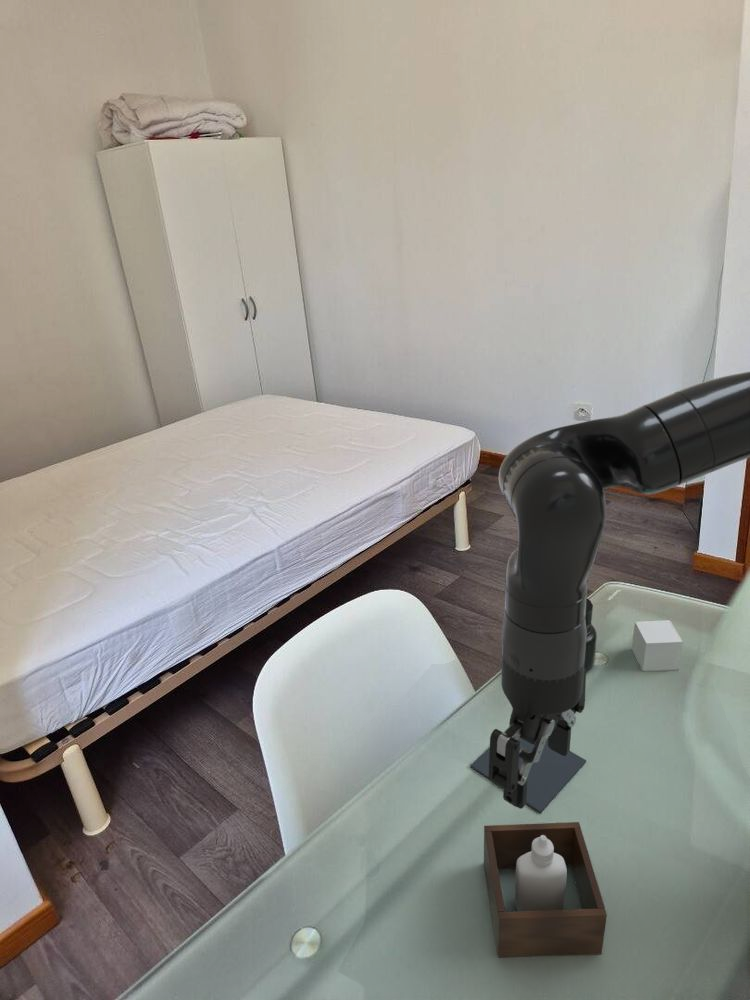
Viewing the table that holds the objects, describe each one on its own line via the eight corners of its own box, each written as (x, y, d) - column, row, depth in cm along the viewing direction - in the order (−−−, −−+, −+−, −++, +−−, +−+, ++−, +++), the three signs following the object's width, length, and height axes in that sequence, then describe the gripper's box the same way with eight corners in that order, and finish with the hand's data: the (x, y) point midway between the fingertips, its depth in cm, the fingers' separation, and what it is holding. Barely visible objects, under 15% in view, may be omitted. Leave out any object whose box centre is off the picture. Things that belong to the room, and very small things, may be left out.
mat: (586, 762, 101) (586, 760, 101) (540, 813, 93) (540, 811, 93) (517, 722, 109) (517, 720, 108) (470, 767, 101) (470, 765, 101)
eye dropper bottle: (521, 880, 85) (524, 813, 80) (567, 899, 82) (573, 831, 77) (510, 911, 82) (512, 843, 76) (557, 932, 79) (563, 863, 74)
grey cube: (642, 671, 117) (646, 643, 115) (631, 649, 123) (634, 621, 120) (678, 669, 117) (682, 641, 114) (665, 647, 122) (669, 620, 120)
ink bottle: (531, 650, 124) (533, 595, 119) (574, 638, 126) (578, 583, 121) (560, 684, 116) (564, 626, 110) (605, 671, 118) (611, 613, 113)
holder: (575, 859, 87) (579, 821, 84) (601, 954, 77) (607, 915, 74) (483, 862, 87) (483, 825, 84) (497, 957, 77) (498, 918, 74)
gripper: (538, 712, 57) (533, 843, 64) (616, 627, 66) (604, 751, 73) (464, 674, 61) (467, 801, 69) (546, 600, 70) (541, 719, 78)
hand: (537, 775), depth 71 cm, fingers open, 8 cm apart
